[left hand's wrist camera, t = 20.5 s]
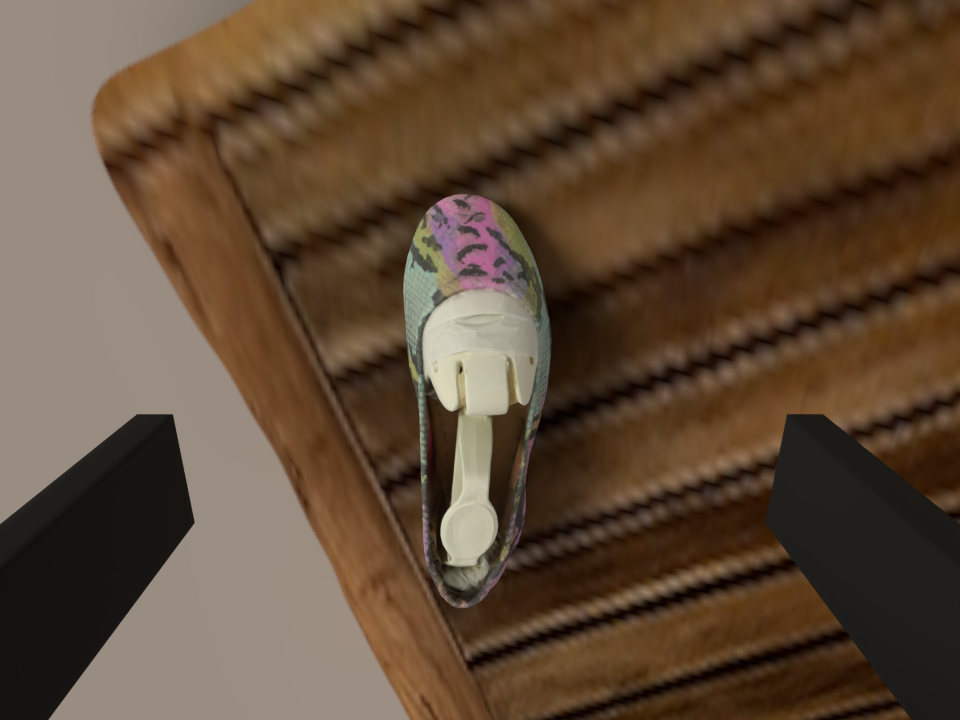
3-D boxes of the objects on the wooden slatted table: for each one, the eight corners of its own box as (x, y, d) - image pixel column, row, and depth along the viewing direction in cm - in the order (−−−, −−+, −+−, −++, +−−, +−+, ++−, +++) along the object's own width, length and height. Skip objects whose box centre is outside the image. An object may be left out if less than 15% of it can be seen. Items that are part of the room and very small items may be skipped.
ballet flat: (556, 193, 33) (582, 212, 25) (533, 549, 42) (547, 649, 34) (405, 190, 33) (382, 209, 25) (414, 547, 42) (399, 648, 33)
